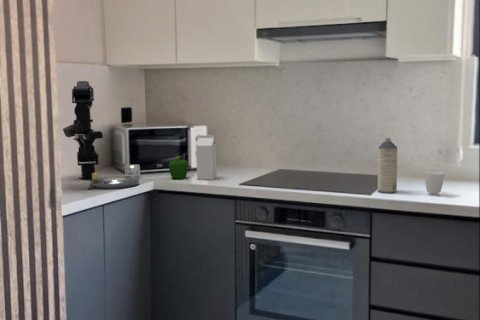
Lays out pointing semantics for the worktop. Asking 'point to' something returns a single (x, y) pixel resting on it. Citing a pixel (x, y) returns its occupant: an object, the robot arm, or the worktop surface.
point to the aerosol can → (387, 167)
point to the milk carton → (206, 157)
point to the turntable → (113, 181)
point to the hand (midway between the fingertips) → (85, 155)
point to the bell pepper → (178, 168)
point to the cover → (132, 170)
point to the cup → (434, 182)
